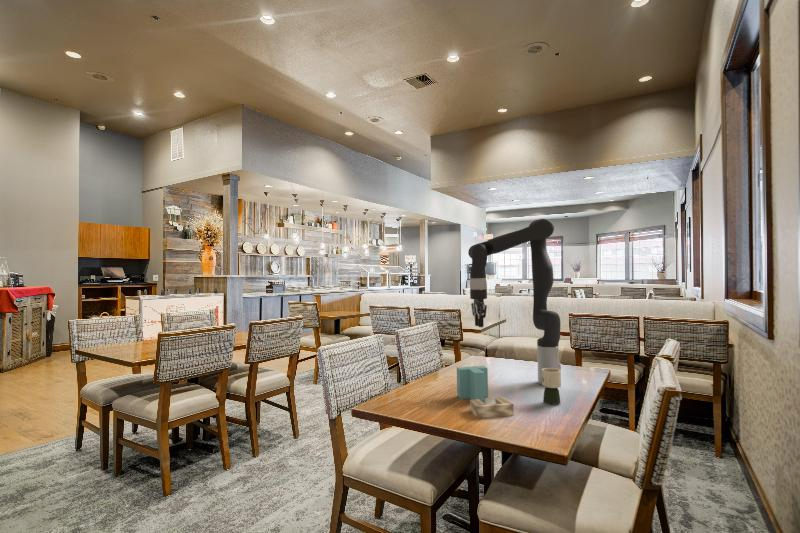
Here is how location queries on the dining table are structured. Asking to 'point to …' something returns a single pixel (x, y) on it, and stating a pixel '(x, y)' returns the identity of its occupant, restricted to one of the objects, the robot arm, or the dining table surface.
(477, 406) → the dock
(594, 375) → the dining table surface
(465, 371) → the t block
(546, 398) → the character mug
